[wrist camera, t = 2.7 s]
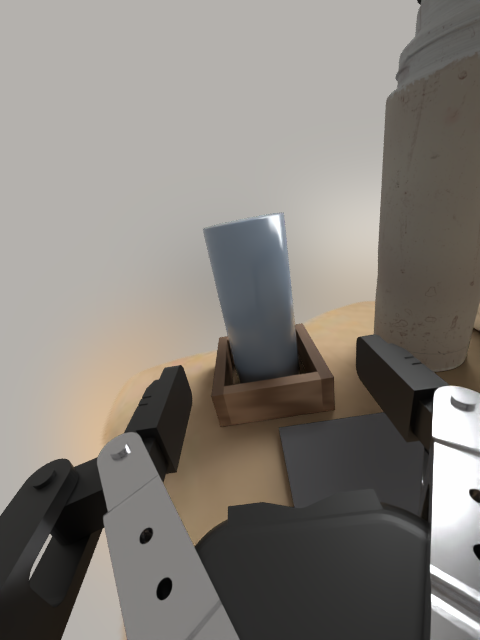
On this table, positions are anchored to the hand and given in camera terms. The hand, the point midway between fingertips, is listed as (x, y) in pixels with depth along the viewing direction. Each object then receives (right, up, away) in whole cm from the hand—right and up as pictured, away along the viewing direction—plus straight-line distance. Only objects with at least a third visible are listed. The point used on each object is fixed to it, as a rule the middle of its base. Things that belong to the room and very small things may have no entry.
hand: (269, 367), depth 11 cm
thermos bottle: (+18, -1, +15) cm, 23 cm away
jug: (+2, -4, +16) cm, 16 cm away
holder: (+2, -4, +14) cm, 15 cm away
